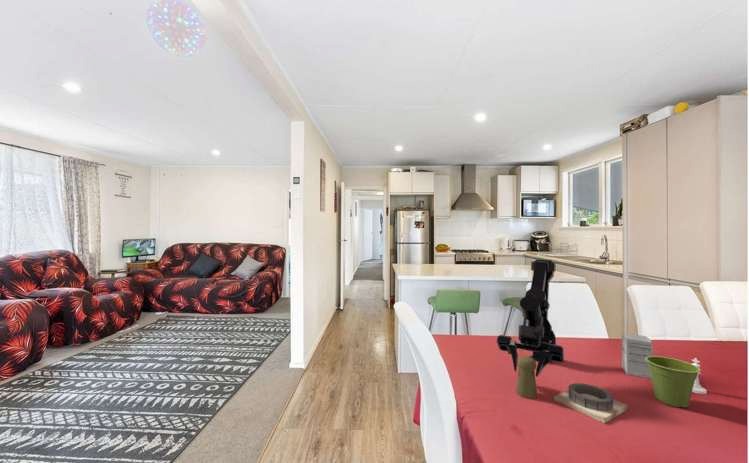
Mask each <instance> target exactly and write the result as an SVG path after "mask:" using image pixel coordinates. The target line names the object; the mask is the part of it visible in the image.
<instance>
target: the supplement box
mask: <svg viewBox="0 0 749 463" xmlns="http://www.w3.org/2000/svg"><path fill="white" fill-rule="evenodd" d="M621 349H622V350H621V367H622V369H623V371H625V374H626V375H627V376H634V377H640V378H644V379H646V378H647V379H651V380H652V377H651V372H650V369H649V365H648V362H647V361H646V359H645V358H646V357H648V356H654V355H653V353H654V351H653V349H654V348H653V341H652V340H650V338H649V337H647V336H646V335H639V334H633V333H625V332H624V333H621Z"/></svg>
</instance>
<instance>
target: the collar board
mask: <svg viewBox="0 0 749 463" xmlns="http://www.w3.org/2000/svg"><path fill="white" fill-rule="evenodd" d="M553 399H554V402H557V403H559V404H561V405H563V406H565V407H568V408H570V409H572V410H574V411H576V412H579V413H581V414H583V415H586V416H588V417H589V418H592V419H594V420H596V421H599V422H600V421H601V422H600V423H602V424H605V423H607V422H609V421H610V420H612V419H614V418H615V417H617V416H619V415H621V414H622V413H624V412H626V411H628V404H625V403H622V402H620V401H617V400H615V399H614V396H613V395H612V393H610V392H609V391H607V390H606V389H604V388H602V387H601V388H600V387H599V386H595V385H594V384H593V385H592V384H588V383H576V382H575V383H571V384H569V385H568V390H565V391H563V392H560V393H559V394H557V395H554V398H553Z"/></svg>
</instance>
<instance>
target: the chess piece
mask: <svg viewBox="0 0 749 463" xmlns="http://www.w3.org/2000/svg"><path fill="white" fill-rule="evenodd" d="M691 361H692V362H693V363H691V364H693V365H695V366H697V367H698V368H700V369H701V365H700V363H701V361H700V360H698V358H696V357H694V359H691ZM701 374H702V373H701V371H700V372H699V373H698V374H697V378H696V379H695V381H694V385H693V389H692V393H695V394H699V395H706V394H708V390H707V389H706V388H705V387H702V385H701V384H700V379H699V375H701Z"/></svg>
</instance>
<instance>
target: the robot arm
mask: <svg viewBox="0 0 749 463" xmlns="http://www.w3.org/2000/svg"><path fill="white" fill-rule="evenodd" d="M556 264H557V263H556V262H553V259H543V258H542V259H539V258H536V259H535V260H534V261H531V262H530V270H531V271H533V272H532V273H533V274H532V279H531V284H530V288H529V289H528V290H527V291H526V292H525V296H524V297H522V298H521V299H520V300H519V306H520V311H521V315H522V317H523V320H522V325H521V324H519V325H518V340H519V342H518V341H516V340H513V339H512V337H511V336H509V335H502V334H499V335H497V338H496V343H497V346H498V349H499V350H500V351H502V352H503V351H504V352H507V353H508V354H509V355H511V358H512V363H513V369H514V373H517V370H518V363H517V361H518V358H519V354H518V350H525V351H529V352H532V355H529V356H528V357H531V358H533V359H534V360H535V361H537V364H536V368H535V370H536V371H535V378H536V377H537V378H538V377H539V376H540V374H541V372H542V371H543V370H544V368H546V366H547V365H548V364H549V363H550V364H552V363H553V362H557V363H564V362H565V361H564V360H565V359H564V358H565V353H564V351H565V350H564V348H563V346H562V345H559V344H557V342H556V341H557V340H556V339H557V338H556V334H555V332H554V330H553V327H552V323H550V320H549V318H548V317H549V315H548V314H549V309H550V302H549V295H550V293H549V292H550V282H551V280H552V279H553V278H554V277H555V272H556V270H557V265H556Z"/></svg>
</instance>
